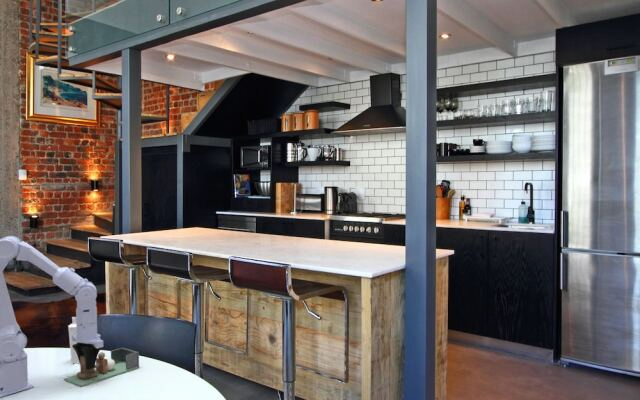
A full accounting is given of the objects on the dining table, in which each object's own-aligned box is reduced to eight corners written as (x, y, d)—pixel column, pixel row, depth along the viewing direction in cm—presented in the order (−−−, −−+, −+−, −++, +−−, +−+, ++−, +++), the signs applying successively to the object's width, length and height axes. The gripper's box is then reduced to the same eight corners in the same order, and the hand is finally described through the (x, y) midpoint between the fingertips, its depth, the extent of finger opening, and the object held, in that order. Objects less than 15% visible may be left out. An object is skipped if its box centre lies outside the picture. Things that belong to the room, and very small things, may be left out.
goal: (127, 371, 161) (126, 355, 161) (111, 366, 166) (110, 350, 166) (139, 367, 165) (138, 352, 164) (122, 362, 170) (122, 347, 170)
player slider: (84, 379, 152) (83, 358, 152) (76, 376, 155) (76, 356, 154) (108, 371, 159) (108, 352, 159) (101, 369, 161) (101, 349, 161)
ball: (106, 371, 158) (108, 360, 159) (99, 369, 160) (102, 358, 161) (116, 371, 161) (118, 359, 162) (109, 369, 163) (112, 357, 164)
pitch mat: (81, 387, 148) (81, 385, 148) (63, 380, 154) (63, 378, 154) (138, 368, 164) (138, 366, 164) (120, 362, 170) (120, 361, 170)
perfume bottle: (72, 365, 168) (72, 319, 167) (66, 362, 170) (65, 317, 170) (86, 361, 171) (85, 317, 171) (79, 359, 174) (78, 315, 174)
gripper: (112, 323, 154) (113, 368, 154) (86, 317, 163) (87, 359, 163) (90, 328, 148) (90, 375, 148) (64, 321, 157) (65, 365, 157)
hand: (87, 367), depth 155 cm, fingers closed on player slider, 3 cm apart
